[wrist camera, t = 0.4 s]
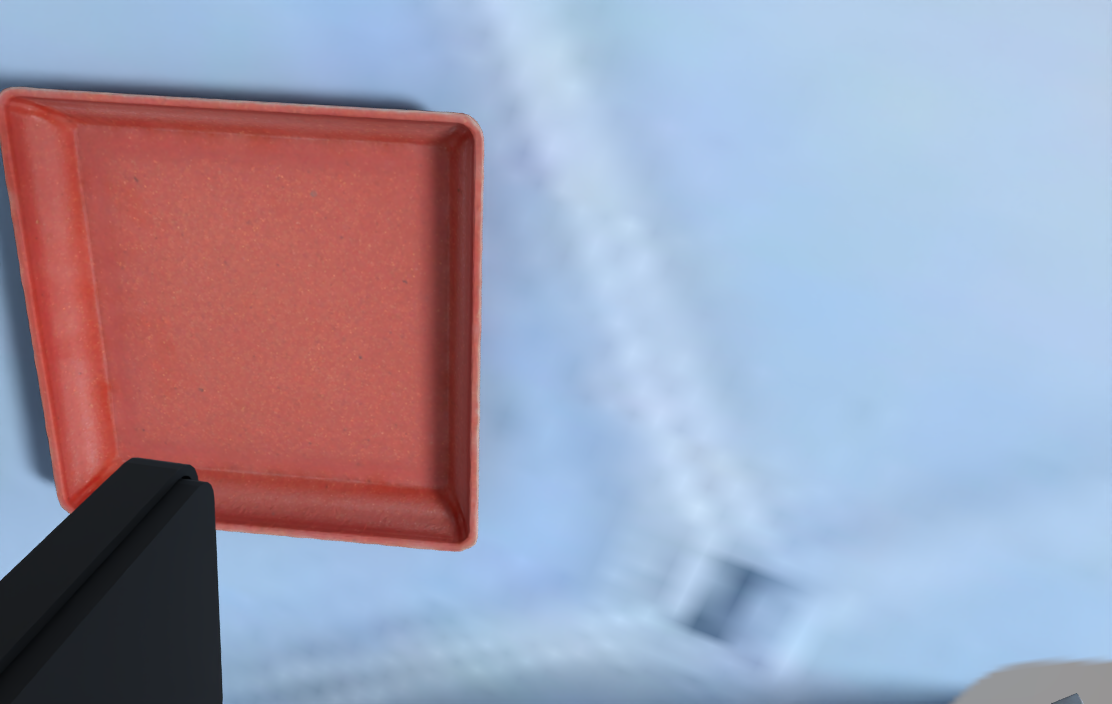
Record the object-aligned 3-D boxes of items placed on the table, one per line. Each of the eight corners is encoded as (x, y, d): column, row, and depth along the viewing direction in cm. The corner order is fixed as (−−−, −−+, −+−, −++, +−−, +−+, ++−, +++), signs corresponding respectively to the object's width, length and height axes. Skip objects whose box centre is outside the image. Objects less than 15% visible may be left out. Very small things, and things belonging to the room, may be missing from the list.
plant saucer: (498, 100, 38) (483, 114, 35) (490, 515, 45) (477, 557, 42) (39, 73, 40) (-13, 85, 37) (99, 479, 47) (59, 517, 44)
